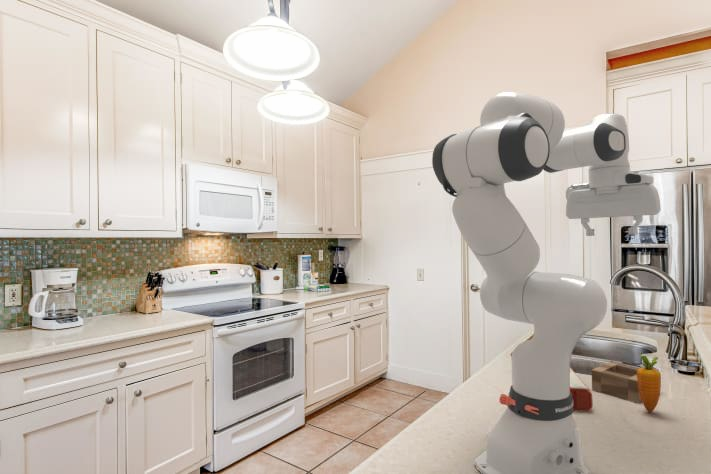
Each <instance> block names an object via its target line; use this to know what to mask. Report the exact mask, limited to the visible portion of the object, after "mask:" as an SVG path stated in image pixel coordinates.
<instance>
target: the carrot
mask: <svg viewBox="0 0 711 474" xmlns="http://www.w3.org/2000/svg"><path fill="white" fill-rule="evenodd" d="M640 357H641V359H642V363H641V364H642V365H643V366H642V367H638V368H639V369H638V370H637V382H638V389H639V394H640V397H641V400H642V402H641V403H642V404H643V407H644V408H645V410H646V411H647V412H648V413H649V414H651V413H653V412H654V410H655V409H656V408H657V405H658V404H659V400H660V395H661V388H662V379H661V378H662V376H661V372H660V371H659V370H658V369H655V368H653V367H654V366H655V365H656V364H658V361H657V360H658V359H659V356H654V357H653V358H652V361H650V360H649V358H648V357H647V355H645V354H644V353H643V354H640Z"/></svg>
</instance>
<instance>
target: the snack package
mask: <svg viewBox="0 0 711 474" xmlns="http://www.w3.org/2000/svg"><path fill="white" fill-rule="evenodd" d="M570 392H571V393H572V399H573V412H574V411H576V412H588V411H590V410H592V409H593V405H594V404H593V403H594V401H593V400H594V399H593V394H592V391H591V389H590V388H589V387H588V386H587V385H586V384H585V382H583V380H582V379H581V378H580V377H579V375H577V373H576V372H575V371H574V369H573V368H572V367H571V366H570Z"/></svg>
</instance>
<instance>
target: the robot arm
mask: <svg viewBox="0 0 711 474" xmlns="http://www.w3.org/2000/svg"><path fill="white" fill-rule="evenodd" d="M589 121H590V122H589V124H587V125H584V126H580V127H575V128H571V129H568V130H565V128H566V124H565V123H566V121H565V117H564V114H563V112H562V110H561V109H560V108H559V107H558V106H557V105H556V104H555V103H553V102H552V101H549V100H547V99H545V98H542V97H539V96H536V95H534V94H529V93H525V92H519V91H518V92H516V91H503V92H499V93H497V94H495V95H494V96H492V97H491V98H490V99H488V101H487V102H486V103H485V104H484V106H483V109H482V110H481V113H480V119H479V123H480V125H478V126H475V127H471V128H469V129H466V130H463V131H460V132H459V133H453V134H450V135H448V136H446V137H445V138H443V139H442V140H440V141H439V142H438V143H437V144H436V145H435V146H434V148H433V152H432V157H431V160H432V161H431V162H432V163H431V164H432V168H433V173H434V174H435V176H436V178H437V180H438V182H439V184H440V185H441V186H442V187H443V190H444V191H445V192H446V194H448V195H450V196H452V197H454V200H453V202H452V206H451V208H452V209H451V210H452V215H453V219H454V220H455V223H456V225H457V228H458V230H459V231H460V234H461V235H462V237H463V240H464V241H465V242H466V245H467V246H468V247H469V249H470V250H471V252H472V253H473V255H474V257H475V258H476V260H478V263H480V266H481V267H482V268H483V270H484V272H485V274H486V277H485V278H484V279H483V281H482V282H481V284H480V288H479V298H480V302H481V304H482V307H483V308H484V309H485V310H484V311H486V312H487V313H490V314H491V315H495V316H496V317H499V318H502V319H504V320H506V321H507V320H508V321H513V322H520V323H524V324H530V325H533V327H534V330H533V336H532V338H531V339H528V340H525V341H523V342H521V343H518V345H517V346H515V347H514V349H513V351H512V353H511V384H512V385H510V388H509V392H508V395H507V394H505V393H501V394H500V395H499V396H500V397H499V399H498V400H499V404H501V405H506V406H507V407H506V409H505V410H504V412H503V414H502V415H501V416H500V418H499V419H498V420H497V422H496V423H495V424H494V426H493V428H492V429H491V431H490V432H489V433H488V436H487V438H486V439H487V441H486V449H485V450H484V451H483V452H482V453H480V454H479V455H478V456H477V457H476V458H475V459H474V463H475V464H474V467H475V466H476V467H477V468H478V469H477V468H476V467H475V468H476V469H477V471H478V470H479V471H480V472H481V473H480V472H479V471H478V472H479V473H480V474H482V473H483V474H590V469H588V467H587V466H586V465H585V464H584V457H583V451H582V441H581V440H582V439H581V433H580V430H579V428H578V426H577V424H576V423H575V420H574V418H573V413H574V410H573V399H572V393H571V392H570V367H571V359H572V354H573V351H574V349H575V347H576V345H577V343H578V342H579V340H580V339H581V338H582V337H583V336H584V335H586V334H587V333H588V332H590V331H592V330H593V329H595V328H597V327H598V326H599V325H600V324H601V323H602V321H603V320H604V319H605V316H606V314H607V309H608V300H607V296H606V294H605V291H604V289H603V288H602V286H601V285H600V284H599V283H598V282H597V281H596V280H594V279H591V278H587V277H585V276H579V275H577V274H571V273H559V272H558V273H557V272H540V271H536V268H537V266H538V264H539V262H540V259H541V249H540V246H539V243H538V242H537V240H536V239H535V237H534V235H533V233H532V231H531V230H530V228H529V227H528V225H527V223H526V222H525V220H524V218H523V217H522V214H521V213H520V212H519V210H518V209H517V208H516V206H515V205H514V203H512V201H511V200H510V199H509V198H508V196H507V194H506V190H505V184H507V183H511V182H512V183H513V182H522V181H526V180H529V179H531V178H534V177H537V176H538V175H540V174H541V173H542V172H543V170H544V171H545V172H547V173H550V174H554V173H557V172H561V171H566V170H571V169H578V168H584V167H588V182H586V183H580V184H579V183H578V184H576V183H575V184H572V185H571V186H569V187H567V188H566V189H565V198H566V203H565V204H566V205H565V216H566V217H567V219H569V220H579V219H580V224H581V225H582V226H583V228H584V229H585V235H586V237H592V236H595V228H591V227H590V225H589V224H588V223H590V219H597V218H598V219H600V218H602V219H603V218H620V217H622V218H623V217H633V221H635V222H634V224H633V225H632V227H627V230H628V236H637V235H638V228H639V226H640V225H641V224H642V222H643V218H644V216H657V215H658V214H659V213H660V212H661V208H662V207H661V199H660V195H659V192H658V189H657V187H656V186H653V183H654V177H653V176H652V175H650V174H647V173H642V172H641V173H640V172H639V171H638V172H637V171H631V165H630V163H629V160H628V154H629V152H630V139H629V132H628V130H629V129H628V127H627V126H628V124H627V122H626V119H625V117H624V116H623V115H622V114H620V113H603V114H602V113H601V114H599V115H596V116H594V117H592V118H591V119H590V120H589Z"/></svg>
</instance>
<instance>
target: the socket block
mask: <svg viewBox="0 0 711 474" xmlns="http://www.w3.org/2000/svg"><path fill="white" fill-rule="evenodd" d="M639 368H640V367H637V366H633V365H630V364H629V365H628V364H625V363H619V362H615V361H609V362H606V363H604V364H602V365H600V366H597V367H595V368H593V369H591V390H592V391H593V392H598V393H600V394H601V393H602V394H605V395H608V396H611V397H615V398H618V399H621V400H625V401H628V402H633V403H635V404H640V403H642V400H641V397H640V394H639V389H638V382H637V370H638V369H639Z"/></svg>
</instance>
